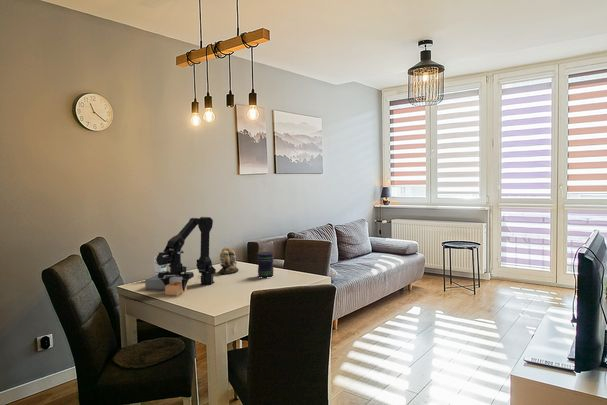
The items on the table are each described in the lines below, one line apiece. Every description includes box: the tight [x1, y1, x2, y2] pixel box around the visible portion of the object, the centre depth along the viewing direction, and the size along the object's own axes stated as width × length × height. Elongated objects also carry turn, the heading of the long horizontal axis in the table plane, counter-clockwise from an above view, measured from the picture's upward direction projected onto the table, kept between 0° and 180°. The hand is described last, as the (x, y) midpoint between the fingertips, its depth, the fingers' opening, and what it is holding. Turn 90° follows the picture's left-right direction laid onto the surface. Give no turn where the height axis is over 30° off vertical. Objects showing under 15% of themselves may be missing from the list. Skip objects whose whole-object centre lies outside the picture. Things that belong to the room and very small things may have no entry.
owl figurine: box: [218, 246, 239, 275], centre depth 275 cm, size 18×12×17 cm, turn 166°
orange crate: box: [164, 281, 188, 296], centre depth 224 cm, size 7×10×5 cm
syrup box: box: [153, 256, 169, 275], centre depth 256 cm, size 6×6×14 cm
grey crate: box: [144, 274, 183, 291], centre depth 238 cm, size 14×16×6 cm
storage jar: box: [257, 251, 274, 279], centre depth 260 cm, size 10×10×15 cm
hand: (176, 290), depth 224 cm, fingers open, 9 cm apart
